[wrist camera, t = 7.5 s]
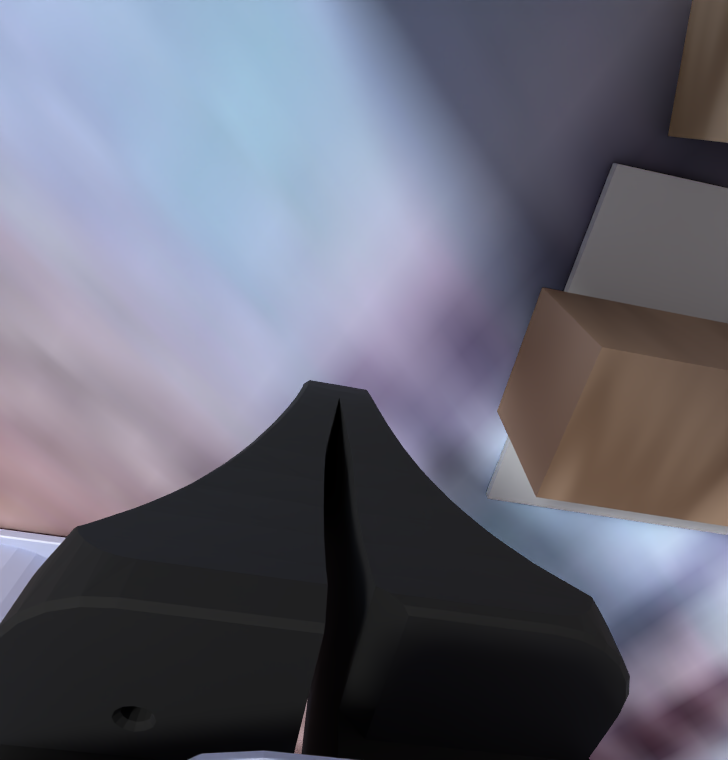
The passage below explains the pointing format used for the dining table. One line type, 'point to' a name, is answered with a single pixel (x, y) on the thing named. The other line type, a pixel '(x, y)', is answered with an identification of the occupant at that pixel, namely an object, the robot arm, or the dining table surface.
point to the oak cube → (703, 75)
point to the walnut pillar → (622, 408)
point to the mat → (643, 284)
